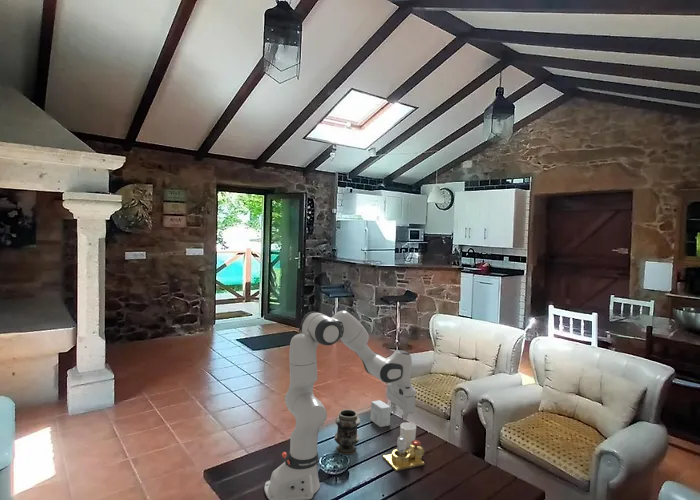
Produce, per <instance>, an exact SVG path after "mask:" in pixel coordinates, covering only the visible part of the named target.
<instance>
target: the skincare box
mask: <svg viewBox="0 0 700 500" xmlns="http://www.w3.org/2000/svg"><path fill="white" fill-rule="evenodd" d="M370 402H371V404H370V419H369V420H370V422H373V423H374V424H375V425H377V426H378V427H379V428H383V427H389V426H390V424H391V422H390V421H391V410H392V406H391V405H389V404H387V403H385V402H384V401H382V400H380V399H378V400H373V401H370Z"/></svg>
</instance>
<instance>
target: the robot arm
mask: <svg viewBox="0 0 700 500" xmlns="http://www.w3.org/2000/svg"><path fill="white" fill-rule="evenodd" d="M298 330H299V331H298V332H299V333H297V334H295V335H294V336H292V338H291V340H290V343H289V352H288V353H289V354H288V361H289V366H288V367H289V385H288V390H287V391H286V393H285V395H284V403H285V406H286V408H287V410H288V412H290V414H292V415H293V416H294V419H295V427H294V429H293V430H292V432H291V433H290V444H289V445H290V446H289V447H290V448H289V452H288V453H287V452H286V451H283V452H282V453H281V457H282V458H283V459H285V460H284V462H283V463H282V464H280V465H279V466H278V467H277V468H275V469H274V470H273V471H272V472H271V476H270V480H266V481H265V484H264V488H263V490H264V494H265V495H266V497H267V499H268V500H311V499H312V498H314V495H315V494H316V493H317V492H318V491H319V489H320V487H321V483H320V481H319V475H318V473H319V472H318V465H319V452H318V440H319V439H318V438H319V432H320V430H321V427H322V426H323V425H324V424H325V423H326V420H327V418H328V412H327V410H326V408H325V406H324V404H323V402H321V401H320V399H318V398H317V397H316V396H315V394H314V386H315V383H316V382H317V381H318V359H317V350H318V346H319V344H320V345H322V346H332V345H334V344H336V343H337V342H338V341H339V340H340V341H341V342H342V343H343V344H344V345H345V346H346V347H347V348H348V349H350V350H351V351H353V352H354V353H355V354H356V355H357V356H358V358H359V359H360V360H361V362H362V364H363V367H364V370H365V371H366V373H367V374H369V375H371V376H373V377H374V378H377V379H378V380H380V381H381V382H383V383H385V384H387V387H386V393H385V394H386V399H387V400H389V401H390V407H391V411H392V412H397V409H398V408H399V409H401V410H402V411H403V414H402V415H401V419H402V420H403V421H407V419H408V416H409V414H410V415H411V414H414V412H415V411H416V397H415V396H417V390H416V389H415V387H414V386H413V384H412V379H411V373H412V369H413V366H412V365H413V362H412V360H413V359H412V355H411V354H410V353H409V352H408V351H406V350H402V349H401V350H400V349H396V350H394V352H393V353H392V354H391V355H390V356H388V357H384V356H383V355H381V354H379V353H377V352H375V351H373V350H372V349H371V348H370V347H369V345H368V342H369V339H370V335H369V333H368V331H367V330H366V328H365V327H364V326H363V324H362V323H361V322H360V321H359V319H357V318H356V317H355V316H353V315H352V314H351V313H350V312H348V311H346V310H339V311H337V312H335V313H334V314H333V316H331V317H330V316H329V315H326V314H324V313H321V312H319V311H309V312H307V313H306V314H304V316H303V318H302V319H301V324H300V326H299V329H298ZM397 407H398V408H397Z"/></svg>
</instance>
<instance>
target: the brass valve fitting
mask: <svg viewBox="0 0 700 500" xmlns="http://www.w3.org/2000/svg"><path fill="white" fill-rule="evenodd" d="M411 444H412V445H410V449H407V448H406V453H405V457H399V456H397V448H396V449H392V452H391V453H389V454H385V455H384V454H383V456H382V459H383V460H385V462H386V463H387V464H388V465H389V466H390V467H391V468H392V469H393V470H394V471H395V472H399V471H403V470H408V469H412V468H417V467H421V466H424V465H425V462H424V461H423V460H422V458H423V457H422V456H425V449H424V447H423V446H421V445H422V442H421V441H420V440H418V439H415V440H413V441H411Z"/></svg>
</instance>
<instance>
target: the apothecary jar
mask: <svg viewBox="0 0 700 500" xmlns="http://www.w3.org/2000/svg"><path fill="white" fill-rule="evenodd" d="M335 424H336V425H337V430H336V431H337V432H336V433H334V437H333V438H334V441H335V443H336V444H337V446H336V448H335V450H336V451H337V452H338V453H340V454H342V455H353V454H355V453H356V452H357V447H356V445H357V444H358V443H359V442H360V436H359V434H358V426H360V424H361V419H360V418H359V416H358V413H357V412H356V411H355V410H353V409H342V410H341V411H339V414H338V415H337V416H336V418H335Z"/></svg>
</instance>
